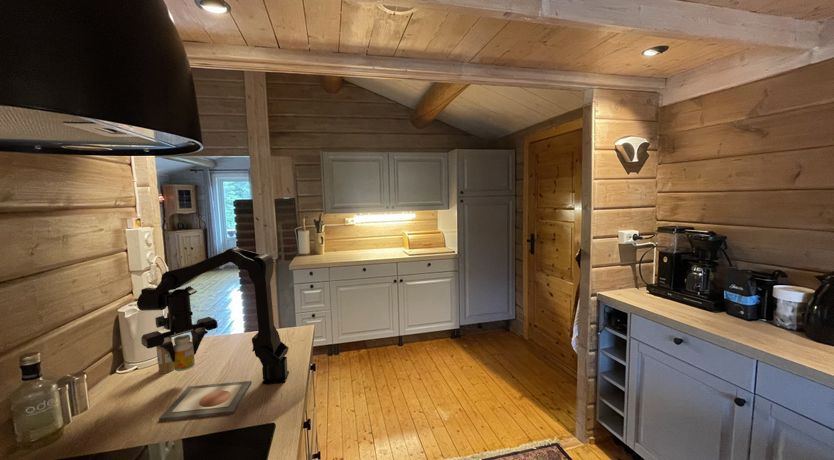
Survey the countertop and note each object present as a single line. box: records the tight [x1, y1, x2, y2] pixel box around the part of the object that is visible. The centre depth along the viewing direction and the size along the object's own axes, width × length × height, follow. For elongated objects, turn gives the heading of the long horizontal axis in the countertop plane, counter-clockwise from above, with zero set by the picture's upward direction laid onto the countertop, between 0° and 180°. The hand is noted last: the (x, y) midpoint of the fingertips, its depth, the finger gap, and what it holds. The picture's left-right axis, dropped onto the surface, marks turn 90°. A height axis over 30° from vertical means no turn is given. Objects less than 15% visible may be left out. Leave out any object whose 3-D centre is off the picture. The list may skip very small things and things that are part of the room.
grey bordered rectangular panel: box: [158, 380, 253, 422], centre depth 97 cm, size 18×15×1 cm
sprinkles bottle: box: [155, 329, 174, 374], centre depth 113 cm, size 5×5×13 cm
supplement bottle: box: [173, 334, 196, 372], centre depth 105 cm, size 5×5×10 cm
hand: (183, 357), depth 106 cm, fingers closed on supplement bottle, 5 cm apart
